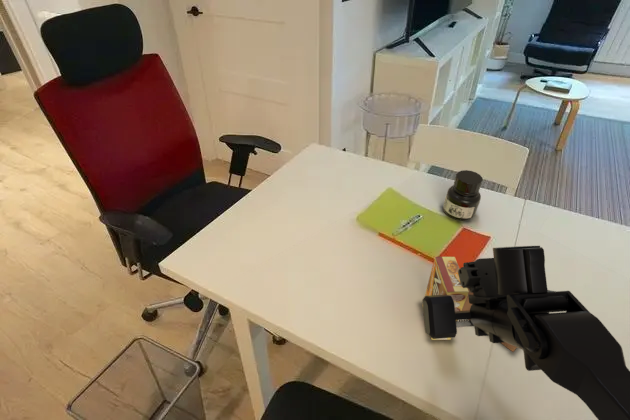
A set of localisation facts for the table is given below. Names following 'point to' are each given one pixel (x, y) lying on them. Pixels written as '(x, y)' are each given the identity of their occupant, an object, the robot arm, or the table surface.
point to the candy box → (446, 282)
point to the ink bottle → (463, 196)
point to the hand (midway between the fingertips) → (460, 304)
